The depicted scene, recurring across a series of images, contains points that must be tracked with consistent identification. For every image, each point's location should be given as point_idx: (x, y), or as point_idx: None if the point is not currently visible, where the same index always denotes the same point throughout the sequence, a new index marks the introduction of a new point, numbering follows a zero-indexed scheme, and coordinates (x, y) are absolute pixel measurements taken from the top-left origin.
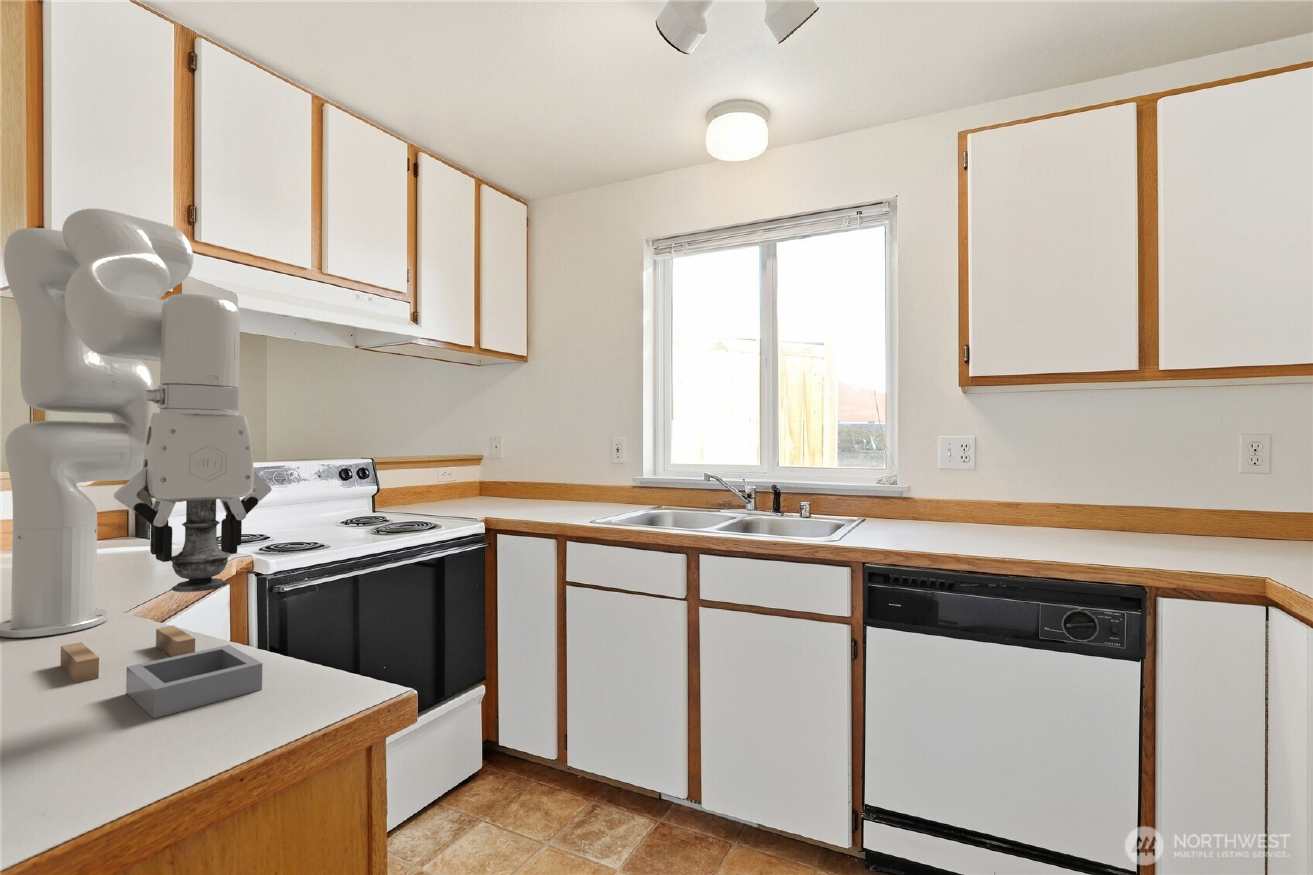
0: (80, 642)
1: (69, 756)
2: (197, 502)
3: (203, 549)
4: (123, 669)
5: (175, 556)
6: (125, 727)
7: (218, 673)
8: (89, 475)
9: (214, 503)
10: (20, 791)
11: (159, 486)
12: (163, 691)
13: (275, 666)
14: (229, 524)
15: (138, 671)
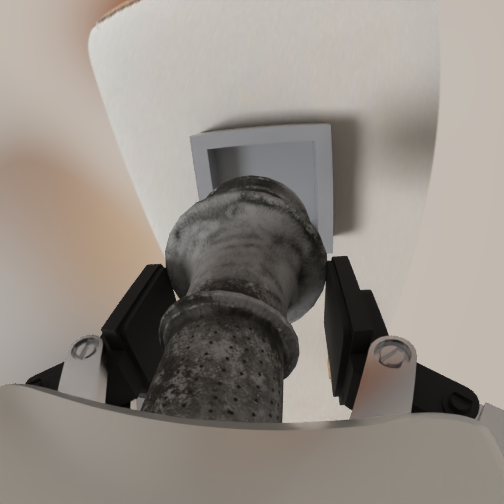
0: (330, 378)
1: (403, 85)
2: (237, 413)
3: (241, 242)
4: (307, 319)
5: (310, 282)
6: (352, 121)
7: (249, 131)
8: None
9: (148, 396)
10: (435, 44)
11: (496, 478)
12: (319, 124)
13: (168, 212)
14: (132, 333)
15: (327, 221)
